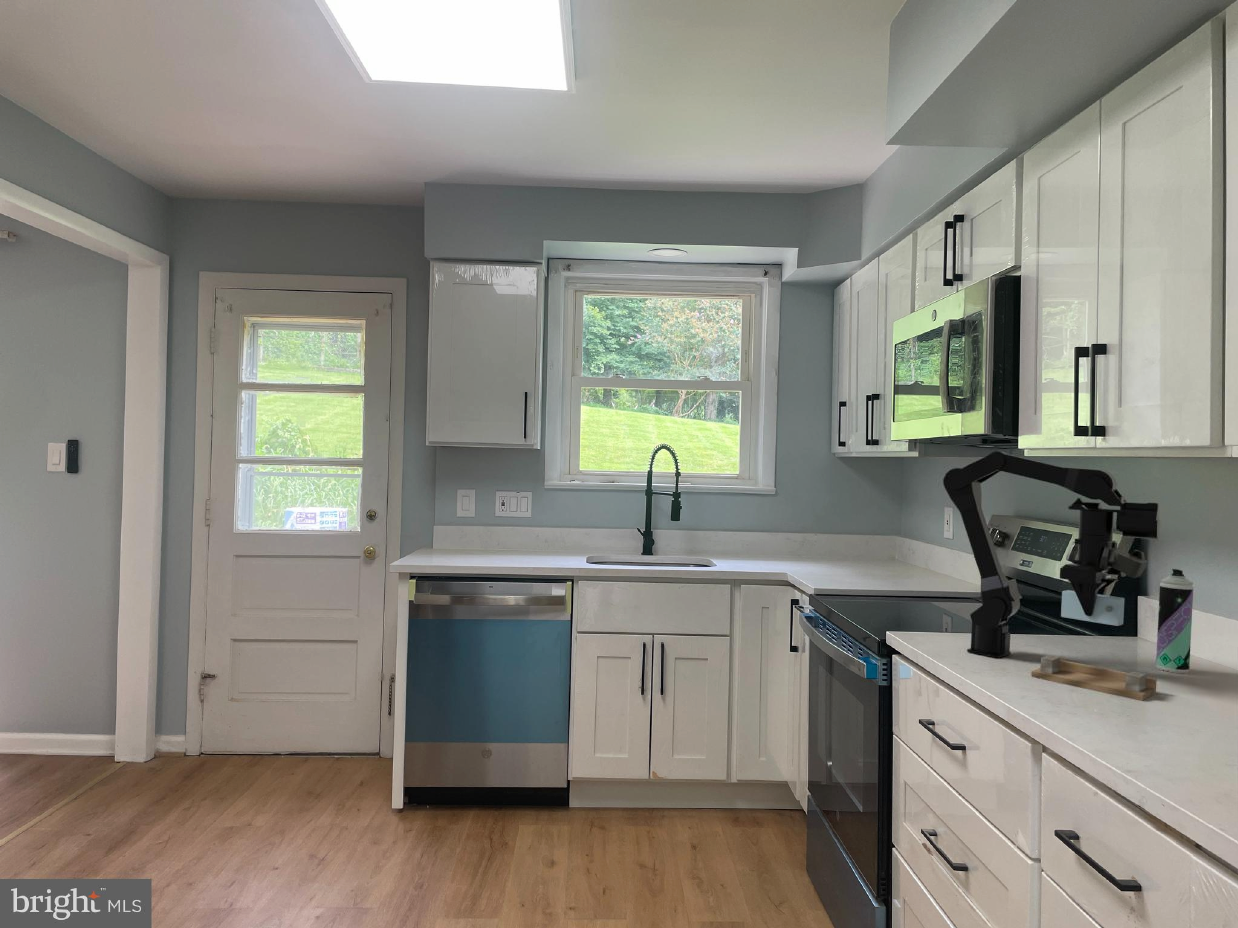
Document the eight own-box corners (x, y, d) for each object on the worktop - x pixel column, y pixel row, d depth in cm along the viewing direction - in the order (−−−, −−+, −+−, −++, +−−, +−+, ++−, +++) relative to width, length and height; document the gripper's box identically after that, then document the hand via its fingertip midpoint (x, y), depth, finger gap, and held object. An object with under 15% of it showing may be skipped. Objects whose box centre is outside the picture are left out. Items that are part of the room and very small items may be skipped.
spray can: (1149, 666, 164) (1154, 567, 164) (1169, 665, 165) (1174, 567, 165) (1175, 674, 158) (1180, 571, 158) (1195, 672, 160) (1200, 571, 160)
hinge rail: (1031, 676, 152) (1032, 657, 152) (1047, 670, 157) (1048, 651, 157) (1142, 700, 139) (1143, 679, 139) (1155, 692, 144) (1156, 672, 144)
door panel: (1059, 617, 160) (1060, 591, 160) (1066, 615, 163) (1067, 590, 163) (1116, 626, 153) (1117, 599, 153) (1123, 624, 156) (1124, 597, 156)
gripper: (1127, 540, 146) (1123, 627, 146) (1157, 536, 159) (1154, 617, 159) (1060, 534, 154) (1056, 617, 154) (1094, 531, 167) (1090, 607, 167)
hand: (1091, 614), depth 158 cm, fingers closed on door panel, 3 cm apart
